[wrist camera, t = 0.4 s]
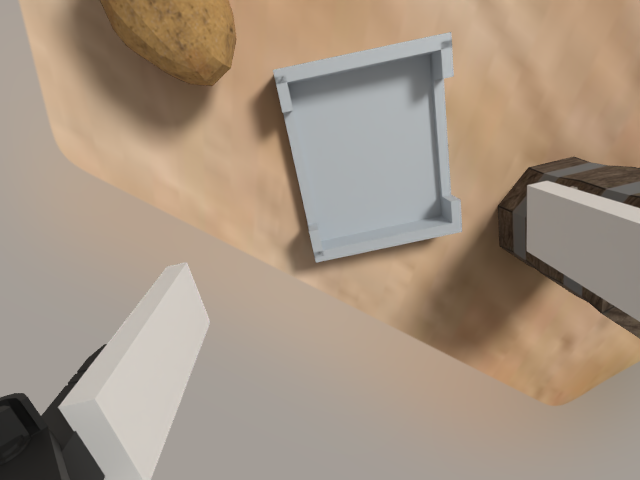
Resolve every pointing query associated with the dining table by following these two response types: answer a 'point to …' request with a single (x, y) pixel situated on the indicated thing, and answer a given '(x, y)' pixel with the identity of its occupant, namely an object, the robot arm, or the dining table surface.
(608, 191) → the mug
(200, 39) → the potato
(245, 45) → the dining table surface
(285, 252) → the dining table surface
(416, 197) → the light blue shallow tray
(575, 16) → the dining table surface
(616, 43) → the dining table surface
